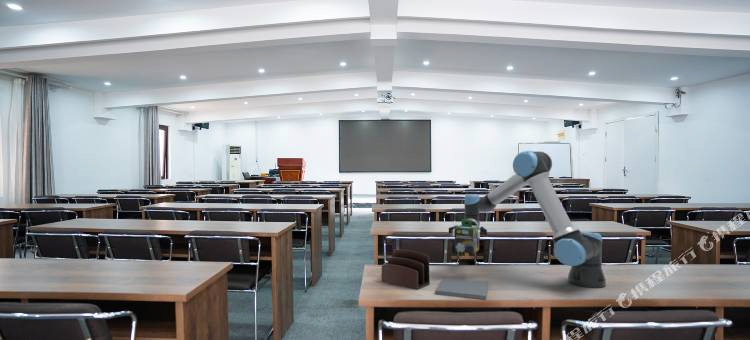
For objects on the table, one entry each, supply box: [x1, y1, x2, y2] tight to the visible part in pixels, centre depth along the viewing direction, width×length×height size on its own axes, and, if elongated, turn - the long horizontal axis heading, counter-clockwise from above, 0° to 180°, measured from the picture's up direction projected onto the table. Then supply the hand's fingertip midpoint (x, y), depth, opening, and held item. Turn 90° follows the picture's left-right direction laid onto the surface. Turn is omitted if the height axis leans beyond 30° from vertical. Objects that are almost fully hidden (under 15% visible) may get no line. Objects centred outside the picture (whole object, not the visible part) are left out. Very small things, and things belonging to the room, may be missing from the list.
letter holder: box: [380, 248, 431, 291], centre depth 180 cm, size 10×20×14 cm, turn 51°
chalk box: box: [454, 218, 480, 255], centre depth 186 cm, size 9×9×15 cm
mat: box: [434, 277, 489, 300], centre depth 171 cm, size 20×20×2 cm
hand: (465, 234), depth 182 cm, fingers closed on chalk box, 10 cm apart
